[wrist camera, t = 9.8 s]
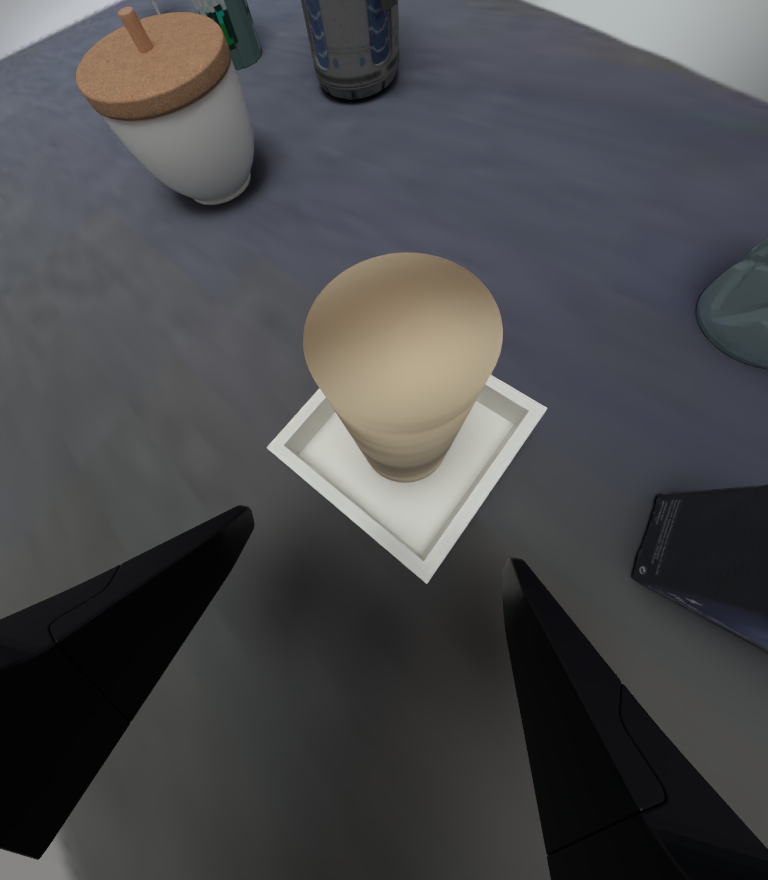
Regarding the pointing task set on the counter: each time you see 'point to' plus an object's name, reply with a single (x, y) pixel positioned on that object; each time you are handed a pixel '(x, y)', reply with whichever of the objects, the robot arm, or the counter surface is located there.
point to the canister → (403, 356)
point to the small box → (712, 556)
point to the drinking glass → (739, 309)
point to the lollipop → (155, 7)
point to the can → (234, 28)
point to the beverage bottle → (353, 44)
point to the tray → (415, 503)
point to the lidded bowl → (174, 102)
